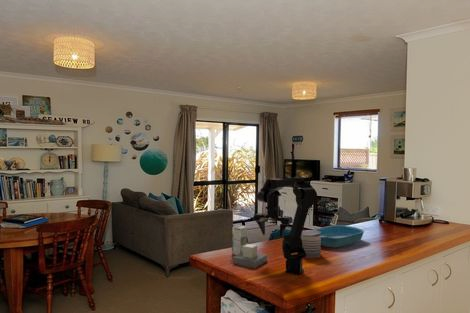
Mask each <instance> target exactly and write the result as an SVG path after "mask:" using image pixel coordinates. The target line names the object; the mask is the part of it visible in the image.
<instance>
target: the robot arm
mask: <svg viewBox="0 0 470 313" xmlns="http://www.w3.org/2000/svg"><path fill="white" fill-rule="evenodd" d="M289 187H292V192H293V194H294V196H295V202H296V206H297V207H296V210H295V213H294V217H292V216H288V215H287V216H286V215H284V212H285V211H284V210H282V209H281V207H280V204H279V202H280V197H281V196H282V193H281V192H280V190H283V188H289ZM299 187H300V188H299ZM317 198H318V193H317V190H316V189H315V188H314V187H313V186H312V185H311V184H310V183H308V182H307V181H305V180H304V178H303V177H301V176H294V177H291V178H290V177H289V178H267V179H265V182H264V184H263V186H262V187H261V188H260V190H259V191H258V192H257V194H256V199H257V201H259V202H261V203H266V206H265V209H266V214H265V213H255V214H254V215H253V217H252V218H253V219H252V220H253V221H255V223H257V225H258V227H259V228H260V230H261V233H262V235H263V236H265V235H266V221H267V220H268V221H275V222H280V224H279V237H280V238H281V239H282V238H283V240H282V242H281V243H282V246H281V247H282V253H283V257H284V258H285V271H284V272H285V273H289V274H294V275H300V274H301V273H303V272H304V269H303V259H304V258H307V257H306V252H305V250H304V248H303V246H302V243H303V242H302V239H301V234H302V231H304V227H305V223H306V220H307V217H308V213H309V210H310V208H311V207H312V206H313V205H314V204H315V203H316V200H317ZM290 224H291V227H290V232H289V234H284V233H285V231H286V230H285V229H286V228H287V227H288V226H289V225H290Z"/></svg>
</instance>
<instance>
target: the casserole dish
mask: <svg viewBox="0 0 470 313" xmlns="http://www.w3.org/2000/svg"><path fill="white" fill-rule="evenodd" d="M313 230H317V231H320V232H321V233H320V234H321V247H322V246H323V247H327V248H330V247H332V249H336V248H337V247H338V248H343V247H346V245H347V246H350V245H353V244H357V243H358V242H360V241H361V240H362V238H363V236H364V232H365V230H364V229H361V228H359V227H356V226H351V225H343V224H342V225H341V224H335V225H328V226H324V227H319V228H315V229H313ZM349 244H350V245H349ZM342 246H343V247H342ZM338 248H337V249H338Z"/></svg>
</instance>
